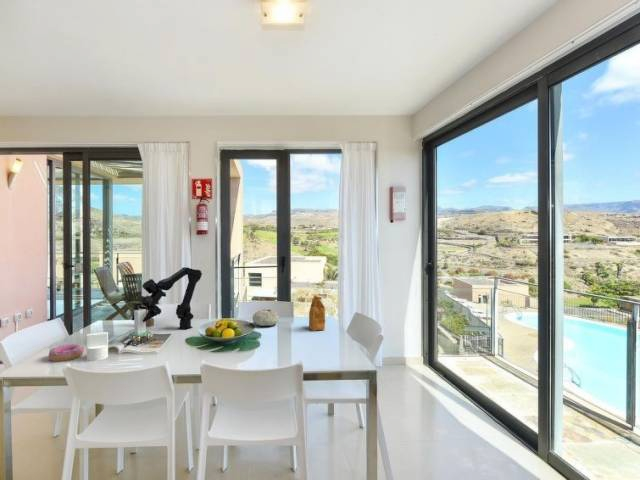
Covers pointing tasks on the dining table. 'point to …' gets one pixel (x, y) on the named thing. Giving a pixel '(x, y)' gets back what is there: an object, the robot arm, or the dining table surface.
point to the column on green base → (139, 323)
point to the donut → (66, 352)
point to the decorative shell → (265, 317)
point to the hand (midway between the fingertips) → (137, 320)
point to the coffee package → (317, 314)
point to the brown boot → (151, 320)
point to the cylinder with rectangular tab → (97, 346)
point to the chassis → (142, 339)
